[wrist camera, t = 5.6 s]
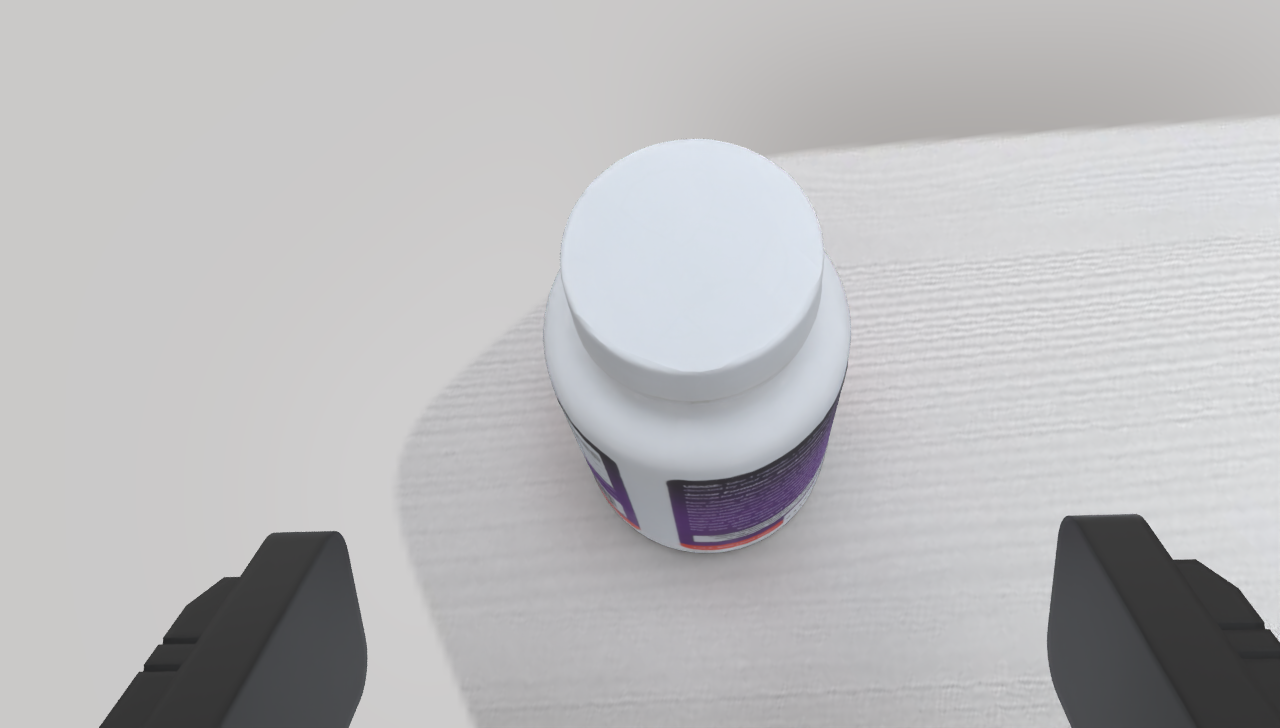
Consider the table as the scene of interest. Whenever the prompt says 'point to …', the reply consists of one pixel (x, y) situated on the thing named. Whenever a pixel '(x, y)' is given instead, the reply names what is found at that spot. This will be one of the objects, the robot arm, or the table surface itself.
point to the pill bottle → (698, 342)
